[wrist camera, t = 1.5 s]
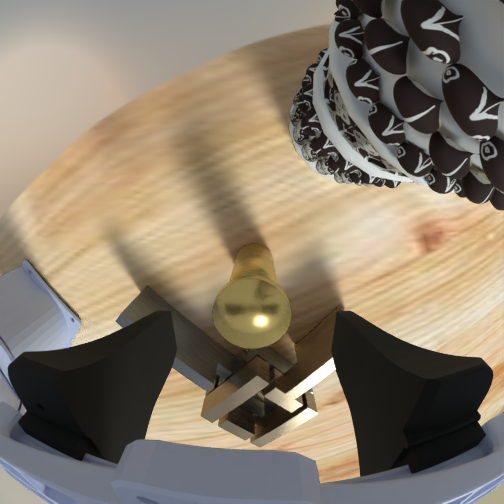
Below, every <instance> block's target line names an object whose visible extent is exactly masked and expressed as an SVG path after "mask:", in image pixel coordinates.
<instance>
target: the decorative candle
mask: <svg viewBox="0 0 504 504" xmlns="http://www.w3.org/2000/svg"><path fill="white" fill-rule="evenodd" d="M336 6H337V8H338V9H339V10H338V11H337V12H335V14H334V15H336V16H335V20H334V21H333V23H332V24H331V26H330V28H329V48H328V49H324V50H322V51H321V52H320V53H319V54H318V60H319V61H317V62H316V63H314V64H312V65H311V66H310V67H309V68H308V69H307V71H306V76H305V77H304V79H303V81H302V85H301V86H300V87H299V88H298V90H297V93H296V95H295V97H294V100H293V106H292V108H291V109H290V123H289V132H290V135H291V138H292V141H293V144H294V147H295V150H296V152H297V153H298V155H299V156H300V157H301V158H302V159H303V160H304V162H305V163H306V164H307V165H308V166H309V168H310V169H311V170H313V171H315V172H316V173H318V174H320V175H322V176H323V177H325V178H327V179H329V180H330V181H336V182H338V183H346V184H353V183H355V184H356V185H358V186H361V185H362V184H363V185H365V186H368V187H369V186H371V185H372V184H374V185H375V186H378V187H381V186H384V185H385V186H387V187H389V188H395V187H397V186H398V185H399V184H400V183H401V182H415V183H417V184H419V185H423V186H427V187H430V188H431V189H432V190H433V191H435V192H437V193H441V194H446V193H449V192H450V193H456V194H457V195H458V196H459V197H467V198H468V199H469V200H470V201H471V202H473V203H476V204H484V203H486V202H488V201H489V200H490V202H491V204H492V205H493V206H494V207H495V208H496V209H497V210H504V0H336Z"/></svg>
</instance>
